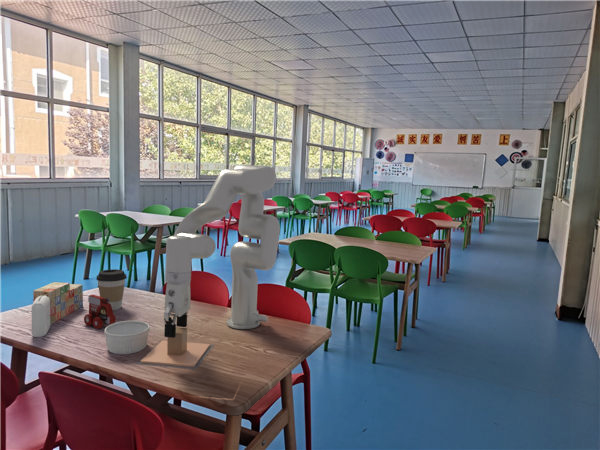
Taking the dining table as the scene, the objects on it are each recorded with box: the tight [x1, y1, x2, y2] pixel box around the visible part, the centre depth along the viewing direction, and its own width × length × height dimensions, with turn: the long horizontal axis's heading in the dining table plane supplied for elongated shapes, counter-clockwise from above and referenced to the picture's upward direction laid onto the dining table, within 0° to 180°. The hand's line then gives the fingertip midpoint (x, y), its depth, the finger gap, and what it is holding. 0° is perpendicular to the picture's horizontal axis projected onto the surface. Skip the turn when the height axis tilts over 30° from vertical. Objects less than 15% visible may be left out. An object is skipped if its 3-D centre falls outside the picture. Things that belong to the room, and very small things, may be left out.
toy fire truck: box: [83, 294, 117, 330], centre depth 154 cm, size 7×12×10 cm, turn 60°
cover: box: [141, 326, 211, 367], centre depth 131 cm, size 16×16×8 cm
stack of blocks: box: [32, 281, 84, 325], centre depth 163 cm, size 21×6×12 cm, turn 177°
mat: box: [135, 340, 215, 370], centre depth 132 cm, size 18×18×1 cm
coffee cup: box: [95, 268, 128, 311], centre depth 173 cm, size 11×11×15 cm
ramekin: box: [103, 320, 151, 355], centre depth 135 cm, size 13×13×7 cm
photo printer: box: [31, 296, 51, 338], centre depth 144 cm, size 10×4×12 cm, turn 20°
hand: (176, 331), depth 131 cm, fingers open, 9 cm apart
